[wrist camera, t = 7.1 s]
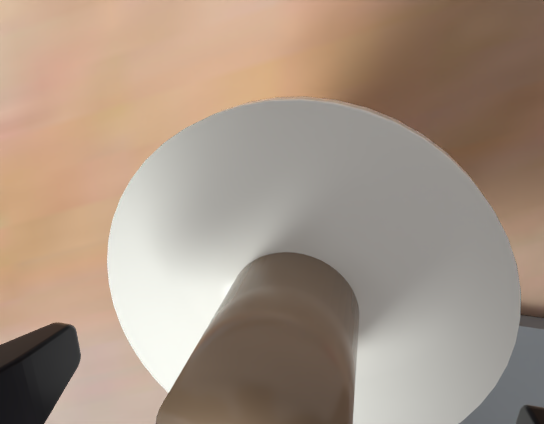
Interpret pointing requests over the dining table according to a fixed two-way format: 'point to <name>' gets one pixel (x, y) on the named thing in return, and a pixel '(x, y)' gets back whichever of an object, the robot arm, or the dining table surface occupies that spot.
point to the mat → (516, 378)
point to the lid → (312, 271)
